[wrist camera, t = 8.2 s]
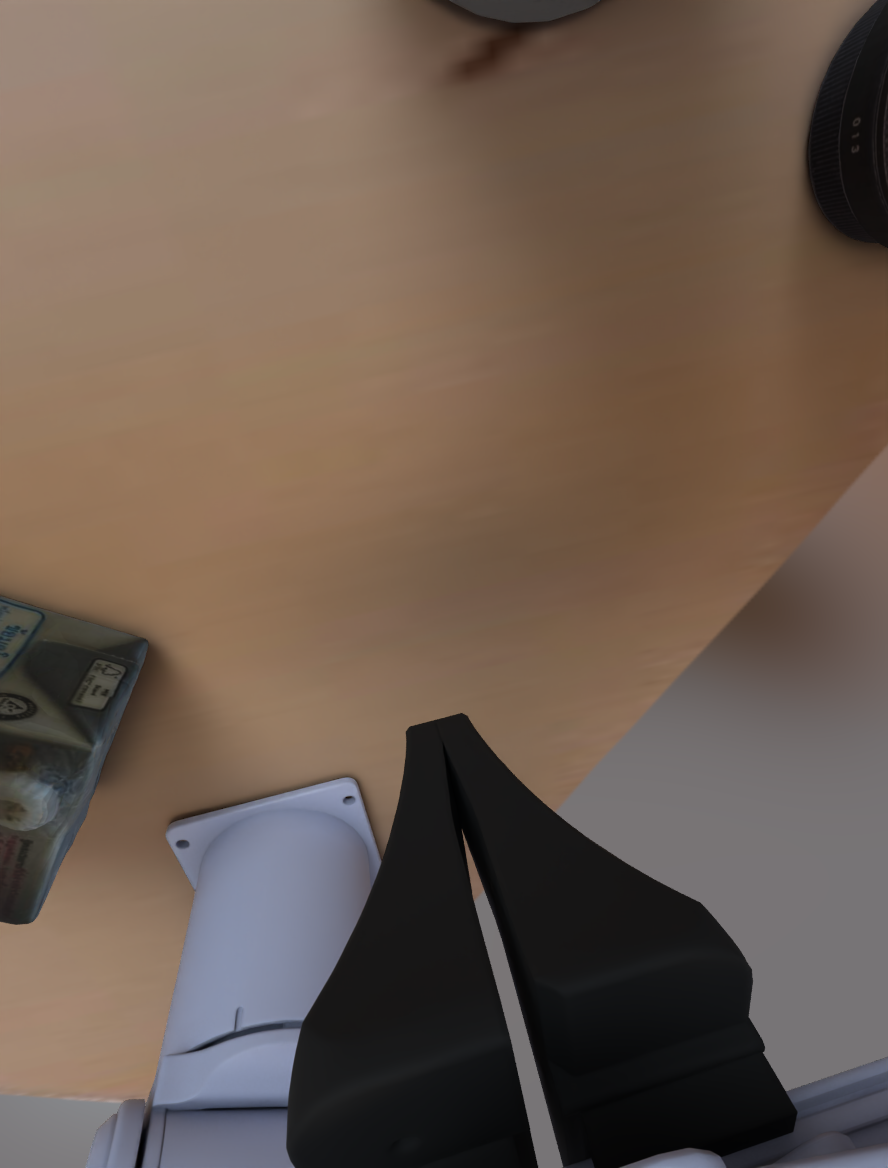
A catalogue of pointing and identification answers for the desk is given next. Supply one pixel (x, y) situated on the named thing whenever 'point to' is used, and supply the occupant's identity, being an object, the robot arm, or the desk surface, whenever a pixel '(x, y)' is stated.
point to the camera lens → (854, 132)
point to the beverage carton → (53, 739)
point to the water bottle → (525, 9)
